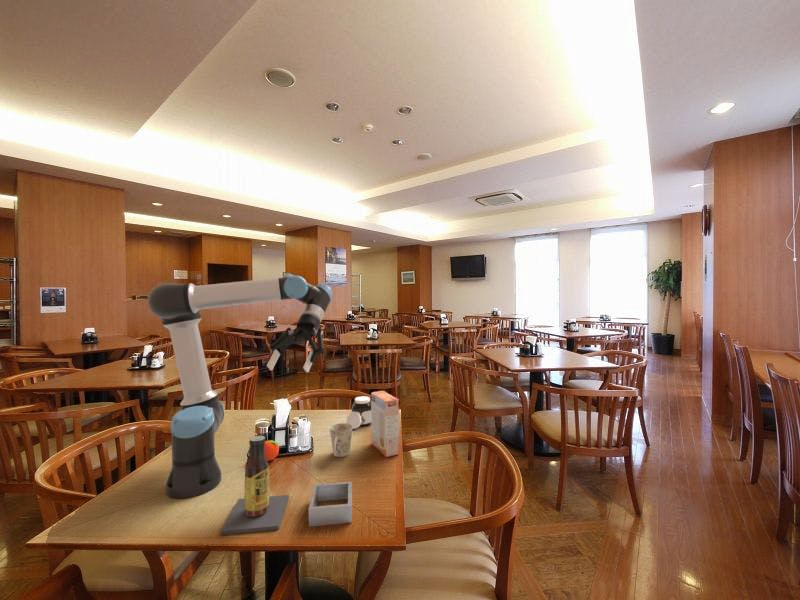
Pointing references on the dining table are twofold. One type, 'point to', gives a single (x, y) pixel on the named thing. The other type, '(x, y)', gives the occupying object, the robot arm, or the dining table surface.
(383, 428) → the cracker box
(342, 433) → the mug
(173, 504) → the dining table surface
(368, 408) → the spread jar
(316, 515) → the grey shallow open box
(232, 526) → the rubber mat
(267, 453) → the clementine
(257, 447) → the sauce bottle
